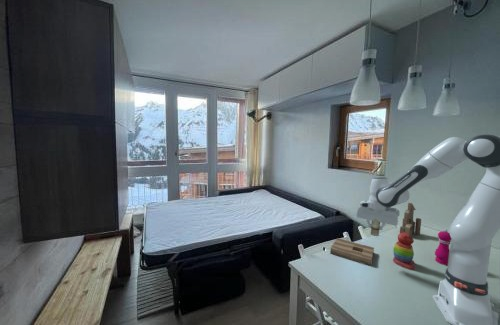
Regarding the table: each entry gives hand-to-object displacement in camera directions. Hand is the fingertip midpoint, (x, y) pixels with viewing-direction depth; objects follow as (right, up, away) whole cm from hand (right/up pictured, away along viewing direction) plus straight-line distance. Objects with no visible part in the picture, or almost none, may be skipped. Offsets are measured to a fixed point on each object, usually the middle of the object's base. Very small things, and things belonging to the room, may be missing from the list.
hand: (375, 228), depth 117 cm
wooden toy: (+53, -19, +41) cm, 70 cm away
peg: (0, -4, 0) cm, 4 cm away
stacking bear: (+17, -21, +1) cm, 27 cm away
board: (-8, -19, +11) cm, 23 cm away
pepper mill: (+42, -21, +3) cm, 47 cm away
